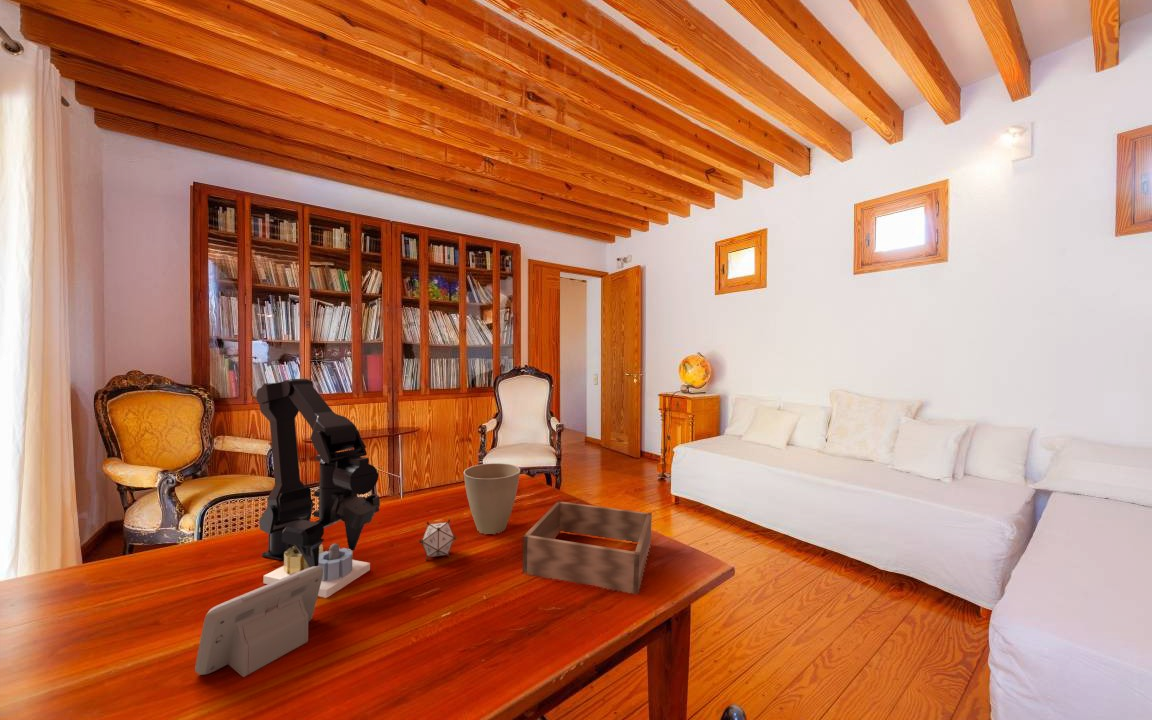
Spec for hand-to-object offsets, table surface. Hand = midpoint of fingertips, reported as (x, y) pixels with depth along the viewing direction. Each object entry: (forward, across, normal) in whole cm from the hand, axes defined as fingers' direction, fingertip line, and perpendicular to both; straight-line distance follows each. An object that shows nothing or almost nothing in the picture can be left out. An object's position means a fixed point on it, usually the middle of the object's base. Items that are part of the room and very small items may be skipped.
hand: (334, 560), depth 86 cm
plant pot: (+4, +33, -18) cm, 38 cm away
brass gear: (+2, 0, +8) cm, 8 cm away
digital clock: (+4, -19, -6) cm, 21 cm away
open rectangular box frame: (+6, +27, -48) cm, 55 cm away
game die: (+4, +16, -14) cm, 21 cm away
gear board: (+4, 0, +4) cm, 6 cm away
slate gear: (+3, 0, 0) cm, 3 cm away
